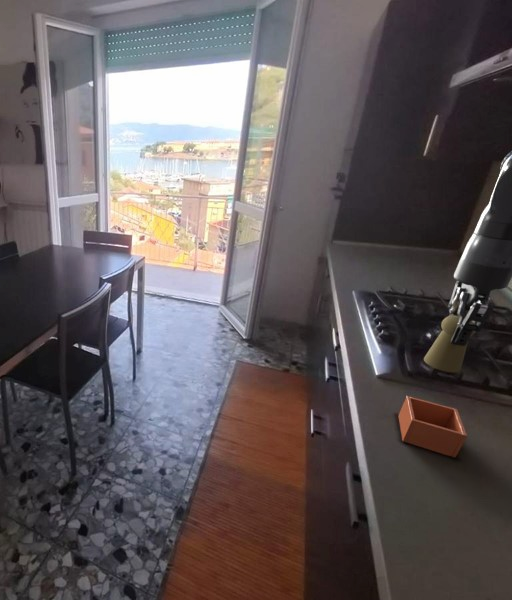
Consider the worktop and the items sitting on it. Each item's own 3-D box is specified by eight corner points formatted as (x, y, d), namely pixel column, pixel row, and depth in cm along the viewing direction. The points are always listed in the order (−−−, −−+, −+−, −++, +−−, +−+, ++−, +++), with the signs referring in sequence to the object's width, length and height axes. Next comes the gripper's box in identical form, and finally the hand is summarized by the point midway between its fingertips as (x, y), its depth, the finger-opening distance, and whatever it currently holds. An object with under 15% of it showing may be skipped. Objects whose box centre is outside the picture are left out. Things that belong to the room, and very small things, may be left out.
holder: (398, 416, 82) (406, 395, 80) (446, 429, 78) (457, 409, 76) (402, 441, 76) (412, 420, 73) (455, 457, 72) (467, 436, 69)
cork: (416, 357, 78) (434, 312, 74) (441, 354, 79) (460, 310, 74) (442, 373, 73) (463, 327, 68) (468, 371, 73) (491, 324, 69)
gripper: (533, 275, 59) (489, 360, 66) (503, 251, 70) (468, 326, 77) (473, 267, 62) (437, 349, 69) (453, 246, 73) (424, 318, 80)
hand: (453, 337), depth 73 cm, fingers closed on cork, 5 cm apart
